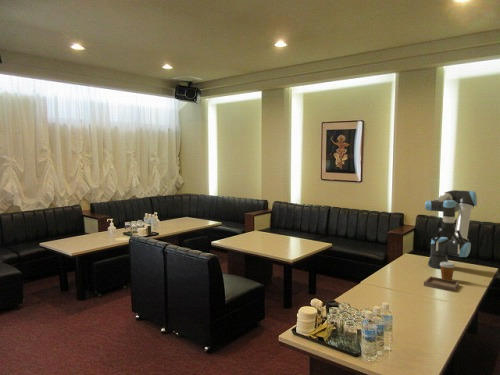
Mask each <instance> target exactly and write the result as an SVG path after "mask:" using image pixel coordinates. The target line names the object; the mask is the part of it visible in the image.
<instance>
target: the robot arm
mask: <svg viewBox="0 0 500 375" xmlns="http://www.w3.org/2000/svg"><path fill="white" fill-rule="evenodd" d="M477 206H478V196H477V192H475V191H473V190H456V189H455V190H454V189H453V190H452V189H451V190H448V191H444V192H442V193H441V194H440V196H439V197H437V198H435V199H433V200H426V201H425V202H424V210H426V211H430V212H441V213H442V228H440V227H438V228H437V230H436V232H435V233H434V235H433V237H432V238H431V242H430V256H429V259H428V261H427V266H429V267H430V268H435V269H438V270H439V269H440V270H441V267H440V263H441V262H449V260H448V256H454V257H459V258H467V257H468V256H469V254H470V252H471V247H472V243H471V242H470V239H468V232H469V226H470V222H471V214H472V210H474V207H477ZM456 213H457V217H456ZM456 218H457V219H456ZM455 222H456V224H455ZM440 232H442V233H441V234H440V235H439V233H440ZM438 235H439V236H438ZM444 235H445V236H444ZM446 236H452V237H451V239H449V238H448V237H446Z"/></svg>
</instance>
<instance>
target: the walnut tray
mask: <svg viewBox="0 0 500 375" xmlns="http://www.w3.org/2000/svg"><path fill="white" fill-rule="evenodd" d="M459 285H460V281H456V280H453V279H452V280H446V279H442V277H441V278H439V277H434V276H429V277H427V279H426V280H424V281H423V286H425V287H429V288H434V289H438V290H444V291H449V292H453V293H455V291H456V290H457V289H458V288H459Z"/></svg>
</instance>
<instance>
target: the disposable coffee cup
mask: <svg viewBox="0 0 500 375" xmlns="http://www.w3.org/2000/svg"><path fill="white" fill-rule="evenodd" d="M440 267H441V269H440V274H441V275H440V276H441V279H446V280H452V281H453V278H454V277H453V275H454V270H455V267H456V265H455V263H454V262H452V261H451V262H450V261H448V262H441V263H440Z"/></svg>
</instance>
